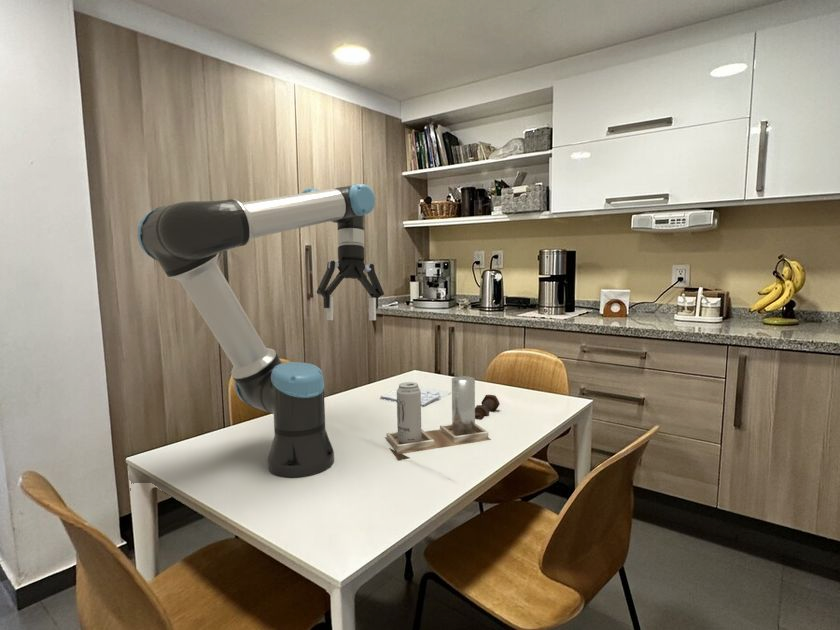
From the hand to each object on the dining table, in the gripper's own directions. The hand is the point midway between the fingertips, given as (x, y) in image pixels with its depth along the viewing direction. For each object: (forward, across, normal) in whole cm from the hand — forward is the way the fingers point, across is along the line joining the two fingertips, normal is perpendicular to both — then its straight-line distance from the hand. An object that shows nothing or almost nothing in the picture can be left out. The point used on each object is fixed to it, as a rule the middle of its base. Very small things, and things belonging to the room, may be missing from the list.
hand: (351, 320), depth 135 cm
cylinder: (+31, -20, +25) cm, 44 cm away
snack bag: (+27, -35, -17) cm, 48 cm away
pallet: (+33, -13, +22) cm, 42 cm away
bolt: (+30, -38, +14) cm, 50 cm away
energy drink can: (+32, -5, +20) cm, 38 cm away
